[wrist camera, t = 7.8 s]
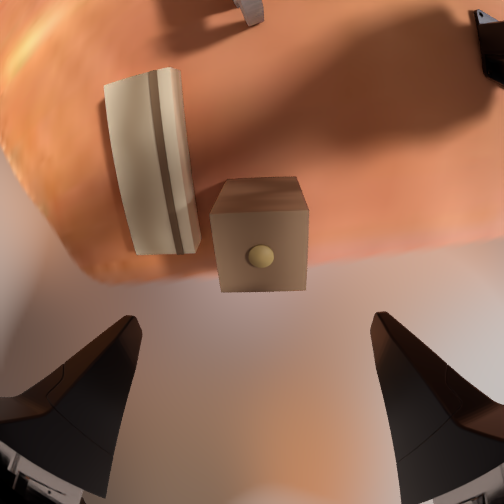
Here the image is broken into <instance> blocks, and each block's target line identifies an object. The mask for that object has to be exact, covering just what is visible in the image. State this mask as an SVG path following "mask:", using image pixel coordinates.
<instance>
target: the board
mask: <svg viewBox="0 0 504 504" xmlns="http://www.w3.org/2000/svg"><path fill="white" fill-rule="evenodd" d="M104 94H105V104H106V113H107V121H108V128H109V135H110V141H111V147H112V153H113V159H114V164H115V170H116V175H117V179H118V184H119V189H120V193H121V198H122V202H123V206H124V210H125V214H126V218H127V222H128V226H129V230H130V234H131V237H132V241H133V244H134V248H135V251H136V255H155V254H177V255H180V254H188V253H196V251H197V249H198V246H199V244H200V242H201V240H202V238H201V232H200V226H199V220H198V214H197V207H196V200H195V194H194V187H193V180H192V172H191V165H190V157H189V149H188V141H187V132H186V123H185V114H184V104H183V94H182V82H181V71H180V70H178V69H175V68H172V67H168V68H163V69H159V70H153V71H149V72H147V73H143V74H139V75H136V76H132V77H129V78H126V79H122V80H119V81H116V82H113V83H110V84H107V85H104Z"/></svg>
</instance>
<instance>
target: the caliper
mask: <svg viewBox="0 0 504 504" xmlns="http://www.w3.org/2000/svg"><path fill="white" fill-rule="evenodd" d="M233 2H234V3H235V5H236V6H237V8H239V7H240V9H241V11H242V13H243V16H244V18H245V21H246V23H247V24H248V26H252V25H255V24H257V23H260V22H263V21H264V9H263V4H262V0H233Z"/></svg>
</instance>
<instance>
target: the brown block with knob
mask: <svg viewBox="0 0 504 504" xmlns="http://www.w3.org/2000/svg"><path fill="white" fill-rule="evenodd" d="M209 217H210V224H211V231H212V237H213V244H214V251H215V257H216V263H217V270H218V276H219V282H220V288H221V292H274V291H303V290H306V278H307V259H308V233H309V209H308V206H307V203H306V201H305V198H304V195H303V193H302V190H301V188H300V185H299V182H298V180H297V177H296V176H293V177H261V178H241V179H227V180H226V182H225V184H224V186H223V188H222V190H221V192H220V194H219V196H218V198H217V200H216V202H215V204H214V206H213V208H212V210H211V212H210V214H209Z"/></svg>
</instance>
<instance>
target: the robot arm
mask: <svg viewBox="0 0 504 504" xmlns="http://www.w3.org/2000/svg"><path fill="white" fill-rule="evenodd" d="M474 14H475V19H476V23H477V28H478V34H479V40H480V46H481V54H482V63H483V72H484V75H485V76H486V77H487V78H488V79H490V80H492V81H494V82H496V83H498V84H500V85H502V86H504V21H497V20H496V19H494V18H493V17H491V16H489V15H488V14H486V13H484V12H483V11H481V10H479V9H478V10H474ZM488 72H489V73H488ZM370 334H371V340H372V346H373V351H374V358H375V365H376V370H377V374H378V378H379V382H380V386H381V390H382V394H383V398H384V402H385V407H386V411H387V415H388V420H389V426H390V430H391V435H392V440H393V446H394V451H395V457H396V463H397V464H396V465H397V471H398V478H399V486H400V494H401V504H420V503H422V502H425V501H428V500H430V499H433V503H434V504H504V405H502V404H499V403H497V402H495V401H493V400H492V399H490V398H489V397H488V396H486V395H485V394H484V393H482V392H481V391H479V390H478V389H477V388H476V387H474V386H473V385H472V384H470V383H469V382H468V381H466V380H465V379H464V378H463V377H462V376H460V375H459V374H458V373H457V372H456V371H455V370H454V369H452V368H451V367H450V366H449V365H447V363H446V362H444V361H443V360H442V359H441V358H440V357H439V356H438V355H437V354H436V353H434V352H433V351H432V350H431V349H430V348H429V347H428V346H426V345H425V344H424V343H423V342H422V341H421V340H419V339H418V338H417V337H416V336H415V335H414V334H412V333H411V332H410V331H409V330H408V329H407V328H405V327H404V326H403V325H402V324H401V323H399V322H398V321H397V320H396V319H394V317H392V316H391V315H390V314H389V313H387V312H384V311H383V312H376V313H375V315H374V318H373V322H372V325H371V329H370ZM141 340H142V330H141V328H140V325H139V323H138V321H137V318H136V317H135V316H130V315H126V316H124V317H123V318H121V319H120V320H119V321H117V322H116V323H115V324H114V325H112V326H111V327H109V328H108V329H107V330H106V331H104V332H103V333H102V334H100V335H99V336H98V337H97V338H95V339H94V340H93V341H92V342H90V343H89V344H88V345H86V346H85V347H84V348H83V349H81V350H80V351H79V352H77V353H76V354H75V355H74V356H72V357H71V358H70V359H69V360H68V361H66V362H65V363H64V364H62V365H61V366H60V367H59V368H57V369H56V370H55V371H53V372H52V373H51V374H50V375H48V376H47V377H45V378H44V379H43V380H41V381H40V382H38V383H37V384H35V385H34V386H32V387H31V388H29V389H28V390H26V391H25V392H23V393H22V394H20V395H18V396H15V397H0V504H86V503H85V501H84V499H83V498H82V497H81V496H82V492H83V490H85V491H87V492H90V493H92V494H95V495H97V496H99V497H102V498H106V493H107V487H108V481H109V476H110V471H111V466H112V461H113V455H114V451H115V446H116V441H117V437H118V433H119V429H120V425H121V421H122V417H123V413H124V409H125V405H126V402H127V398H128V394H129V391H130V387H131V384H132V380H133V377H134V373H135V370H136V365H137V360H138V355H139V350H140V345H141Z"/></svg>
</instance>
